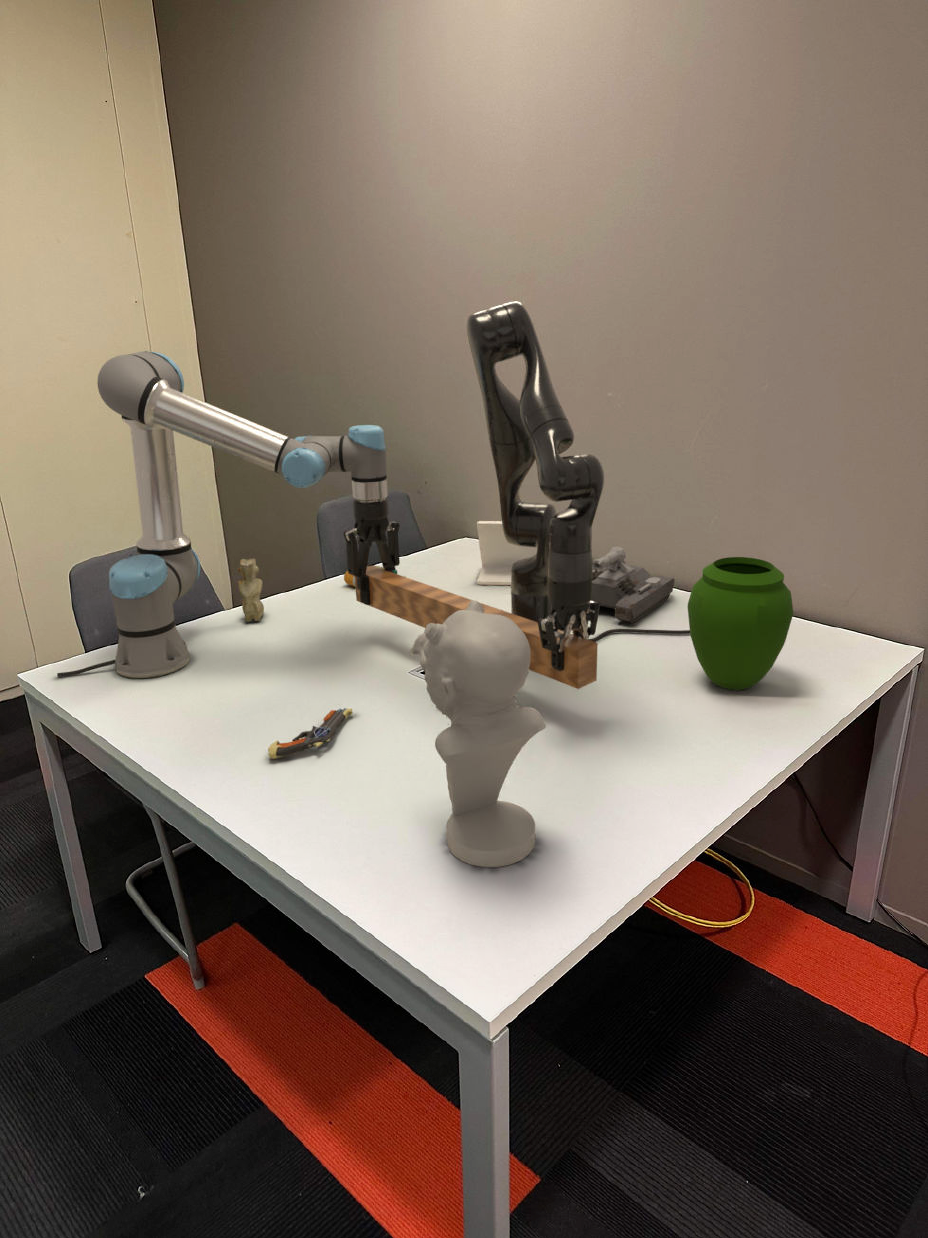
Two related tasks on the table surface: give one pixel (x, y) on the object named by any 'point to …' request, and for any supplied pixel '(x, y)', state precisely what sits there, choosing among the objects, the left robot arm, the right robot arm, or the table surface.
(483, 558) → the tablet stand
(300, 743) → the toy gun
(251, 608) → the sculpture
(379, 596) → the beam
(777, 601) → the vase
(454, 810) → the bust sculpture
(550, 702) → the table surface
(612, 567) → the toy
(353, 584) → the spray gun
